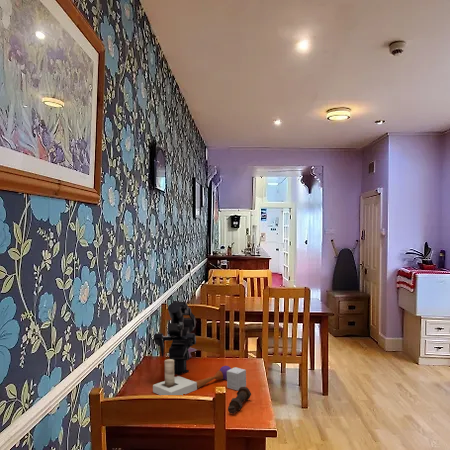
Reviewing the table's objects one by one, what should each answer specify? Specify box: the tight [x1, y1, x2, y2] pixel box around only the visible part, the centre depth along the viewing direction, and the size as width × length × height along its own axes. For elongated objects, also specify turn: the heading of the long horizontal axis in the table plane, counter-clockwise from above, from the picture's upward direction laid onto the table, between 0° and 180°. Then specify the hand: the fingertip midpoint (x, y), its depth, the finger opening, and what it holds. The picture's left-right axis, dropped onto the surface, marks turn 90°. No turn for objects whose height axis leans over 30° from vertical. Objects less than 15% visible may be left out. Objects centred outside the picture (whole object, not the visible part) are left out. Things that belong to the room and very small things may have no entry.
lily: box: [188, 346, 198, 358], centre depth 213 cm, size 12×12×10 cm
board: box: [152, 375, 198, 396], centre depth 172 cm, size 14×12×3 cm
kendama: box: [193, 365, 232, 390], centre depth 180 cm, size 6×6×20 cm
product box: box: [226, 366, 247, 392], centre depth 174 cm, size 6×6×7 cm
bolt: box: [227, 386, 252, 415], centre depth 155 cm, size 6×5×15 cm
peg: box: [164, 358, 175, 388], centre depth 171 cm, size 4×4×13 cm
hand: (172, 356), depth 178 cm, fingers open, 9 cm apart
